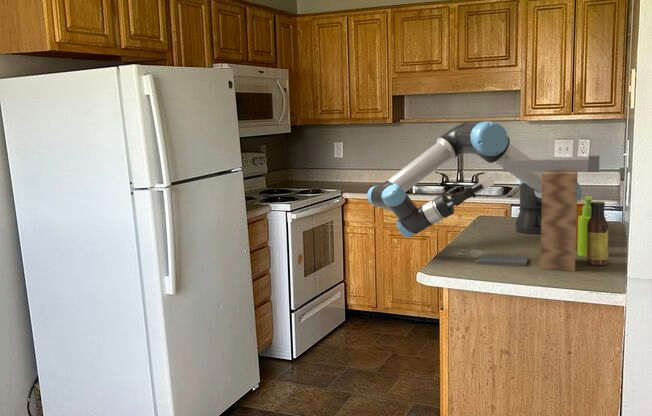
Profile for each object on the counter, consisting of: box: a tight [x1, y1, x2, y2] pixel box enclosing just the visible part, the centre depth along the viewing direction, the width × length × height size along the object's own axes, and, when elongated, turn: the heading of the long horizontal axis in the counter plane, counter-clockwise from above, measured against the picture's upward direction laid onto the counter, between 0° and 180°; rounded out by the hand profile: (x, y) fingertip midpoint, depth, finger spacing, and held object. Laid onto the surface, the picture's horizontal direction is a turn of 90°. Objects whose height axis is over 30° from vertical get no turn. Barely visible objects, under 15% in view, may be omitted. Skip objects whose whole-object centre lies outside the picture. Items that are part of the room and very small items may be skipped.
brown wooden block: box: [539, 172, 579, 272], centre depth 192 cm, size 10×14×30 cm
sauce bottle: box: [586, 200, 610, 266], centre depth 191 cm, size 6×6×20 cm
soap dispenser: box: [576, 195, 593, 258], centre depth 202 cm, size 6×7×20 cm
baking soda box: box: [576, 199, 594, 248], centre depth 218 cm, size 10×6×16 cm
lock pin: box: [502, 154, 601, 173], centre depth 190 cm, size 28×5×5 cm, turn 68°
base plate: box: [477, 253, 529, 267], centre depth 200 cm, size 15×9×1 cm, turn 67°
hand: (495, 177), depth 197 cm, fingers open, 13 cm apart
